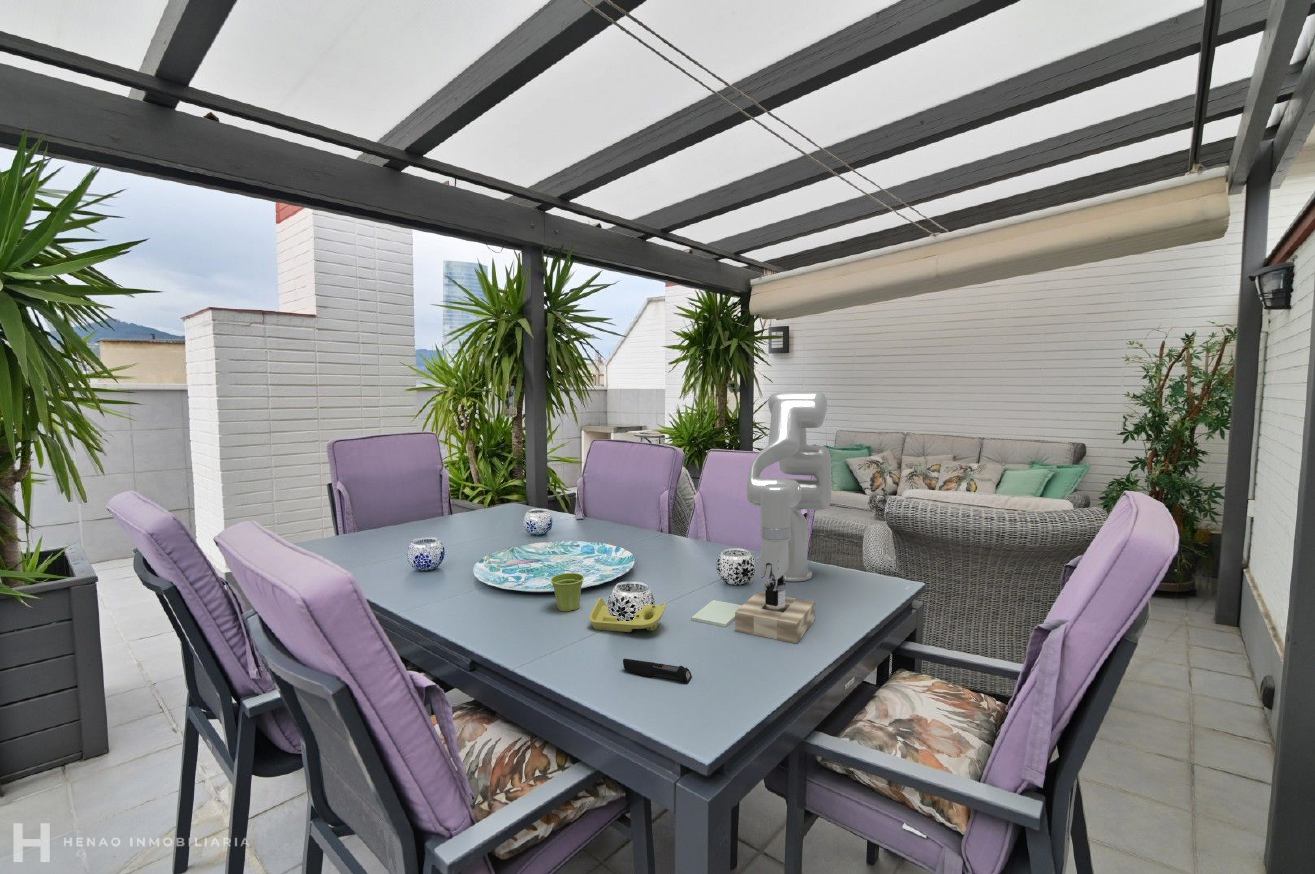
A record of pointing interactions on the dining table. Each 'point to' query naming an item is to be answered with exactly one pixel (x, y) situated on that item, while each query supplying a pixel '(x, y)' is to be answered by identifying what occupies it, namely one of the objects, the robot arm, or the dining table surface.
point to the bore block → (775, 618)
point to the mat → (717, 613)
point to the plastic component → (646, 619)
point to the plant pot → (567, 590)
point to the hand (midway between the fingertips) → (775, 600)
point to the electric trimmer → (658, 670)
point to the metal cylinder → (779, 599)
